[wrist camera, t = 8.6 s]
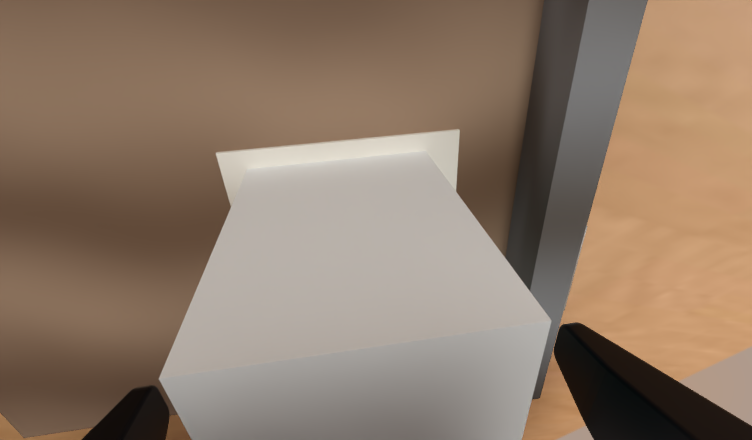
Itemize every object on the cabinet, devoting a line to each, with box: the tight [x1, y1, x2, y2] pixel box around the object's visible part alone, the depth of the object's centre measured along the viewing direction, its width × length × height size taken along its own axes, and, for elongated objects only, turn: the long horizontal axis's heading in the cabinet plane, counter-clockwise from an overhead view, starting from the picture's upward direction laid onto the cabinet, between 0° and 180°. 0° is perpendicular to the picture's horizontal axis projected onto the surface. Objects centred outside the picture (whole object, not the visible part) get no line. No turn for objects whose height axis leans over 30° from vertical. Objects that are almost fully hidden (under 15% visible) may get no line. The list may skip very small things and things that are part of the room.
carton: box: [159, 151, 551, 440], centre depth 9 cm, size 5×7×6 cm
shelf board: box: [0, 0, 648, 438], centre depth 10 cm, size 16×18×3 cm
